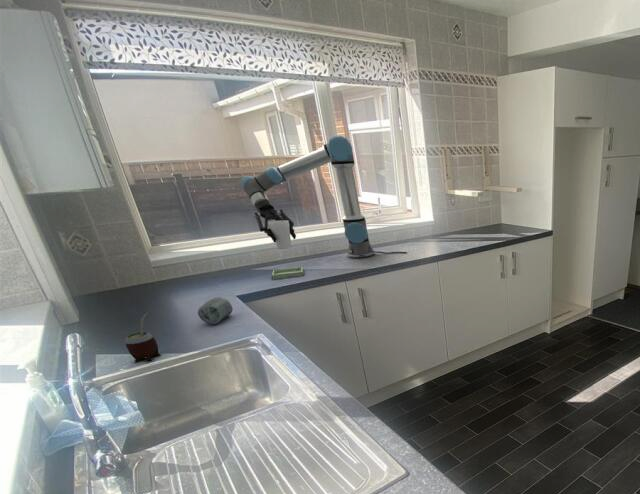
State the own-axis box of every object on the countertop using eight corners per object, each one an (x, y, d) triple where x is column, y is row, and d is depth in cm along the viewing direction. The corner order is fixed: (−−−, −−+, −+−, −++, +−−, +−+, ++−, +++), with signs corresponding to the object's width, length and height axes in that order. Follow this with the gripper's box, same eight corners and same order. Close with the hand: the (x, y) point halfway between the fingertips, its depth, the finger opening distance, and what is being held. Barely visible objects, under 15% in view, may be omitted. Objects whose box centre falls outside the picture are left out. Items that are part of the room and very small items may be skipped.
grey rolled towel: (221, 318, 153) (204, 294, 152) (200, 330, 154) (184, 307, 153) (245, 314, 167) (230, 291, 165) (226, 325, 168) (211, 303, 166)
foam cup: (275, 247, 218) (268, 221, 213) (294, 245, 222) (288, 219, 216) (274, 250, 211) (267, 223, 205) (294, 248, 214) (288, 222, 208)
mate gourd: (131, 359, 132) (110, 314, 125) (162, 350, 137) (143, 307, 131) (136, 366, 127) (115, 320, 121) (168, 356, 133) (148, 312, 126)
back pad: (303, 270, 228) (302, 266, 227) (303, 275, 218) (302, 271, 217) (274, 274, 222) (272, 270, 221) (272, 279, 213) (271, 275, 212)
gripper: (283, 207, 225) (304, 240, 223) (238, 211, 209) (261, 247, 207) (285, 196, 219) (307, 230, 217) (240, 201, 204) (263, 237, 202)
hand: (285, 239), depth 212 cm, fingers closed on foam cup, 9 cm apart
